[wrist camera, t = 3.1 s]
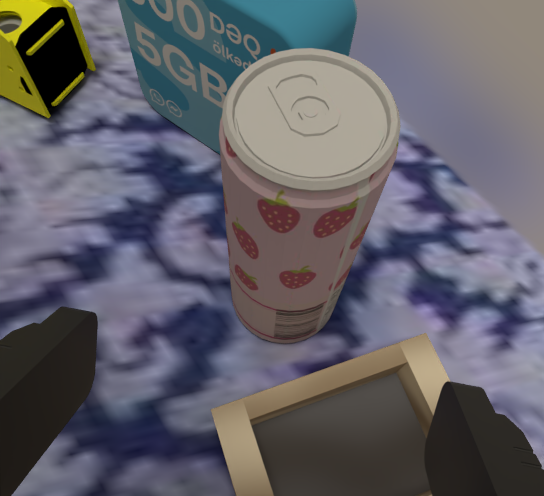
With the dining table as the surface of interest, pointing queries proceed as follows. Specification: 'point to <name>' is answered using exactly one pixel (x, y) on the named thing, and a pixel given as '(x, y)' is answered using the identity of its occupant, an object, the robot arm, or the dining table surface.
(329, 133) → the beverage can
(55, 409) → the robot arm
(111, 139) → the dining table surface
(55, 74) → the yellow toy chassis
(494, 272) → the dining table surface
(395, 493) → the board
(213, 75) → the data package
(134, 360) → the dining table surface
